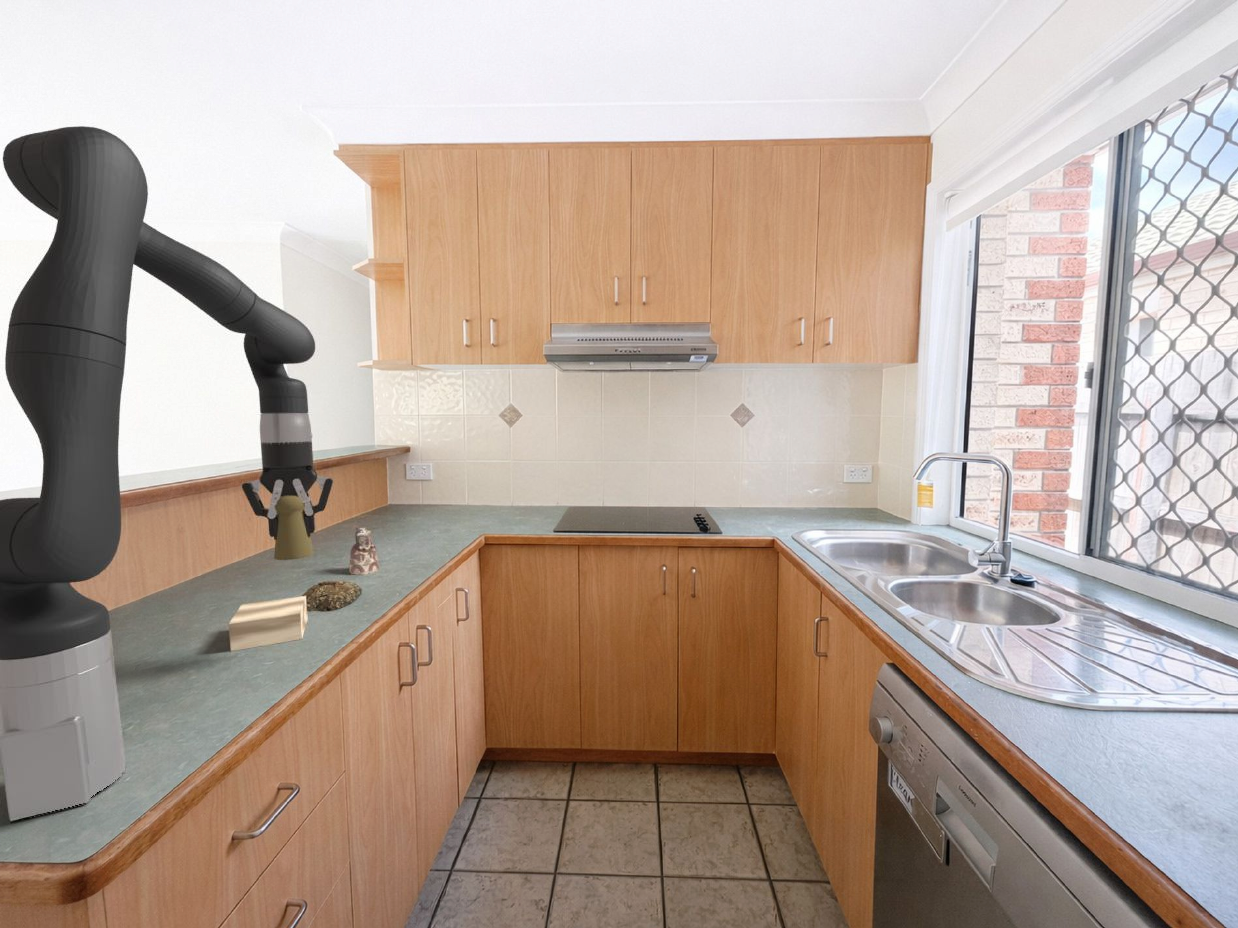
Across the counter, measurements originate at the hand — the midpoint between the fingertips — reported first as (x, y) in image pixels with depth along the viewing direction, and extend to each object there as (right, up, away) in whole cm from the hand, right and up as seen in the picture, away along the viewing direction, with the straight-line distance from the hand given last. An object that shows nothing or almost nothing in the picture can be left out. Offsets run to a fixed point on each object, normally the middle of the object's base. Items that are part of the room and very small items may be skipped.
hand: (293, 537), depth 93 cm
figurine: (-12, -16, +50) cm, 54 cm away
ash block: (-10, -20, +9) cm, 24 cm away
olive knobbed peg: (0, -3, 0) cm, 4 cm away
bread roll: (-9, -19, +27) cm, 34 cm away
